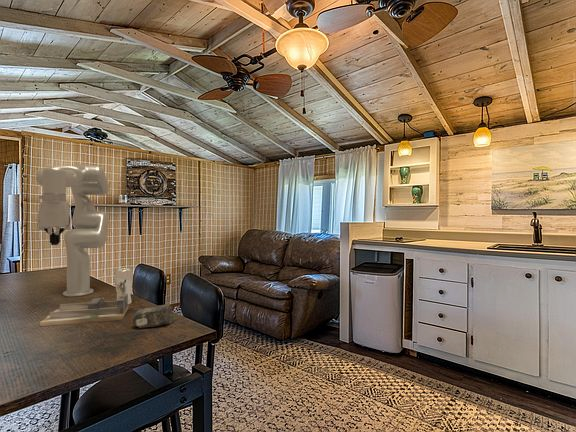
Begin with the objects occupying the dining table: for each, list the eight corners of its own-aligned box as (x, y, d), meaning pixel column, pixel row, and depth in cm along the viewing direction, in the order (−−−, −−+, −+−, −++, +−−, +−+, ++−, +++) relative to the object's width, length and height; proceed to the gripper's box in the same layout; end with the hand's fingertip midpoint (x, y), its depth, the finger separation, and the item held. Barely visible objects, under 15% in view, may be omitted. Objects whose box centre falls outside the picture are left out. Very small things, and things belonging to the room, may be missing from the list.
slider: (93, 308, 131) (93, 296, 131) (104, 307, 132) (104, 296, 132) (84, 317, 120) (84, 305, 119) (97, 316, 121) (97, 304, 121)
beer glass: (135, 303, 144) (135, 269, 144) (118, 306, 139) (118, 271, 139) (128, 300, 149) (129, 267, 149) (112, 303, 144) (112, 269, 144)
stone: (144, 343, 112) (129, 318, 111) (141, 339, 118) (127, 316, 117) (181, 319, 119) (167, 295, 118) (176, 316, 125) (163, 294, 124)
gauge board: (57, 312, 131) (57, 296, 131) (128, 307, 139) (128, 292, 138) (40, 326, 115) (40, 308, 115) (121, 319, 123) (121, 302, 123)
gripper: (28, 198, 125) (28, 246, 125) (73, 198, 129) (73, 245, 130) (36, 198, 132) (36, 244, 132) (79, 199, 136) (79, 243, 137)
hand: (54, 244), depth 131 cm, fingers closed
